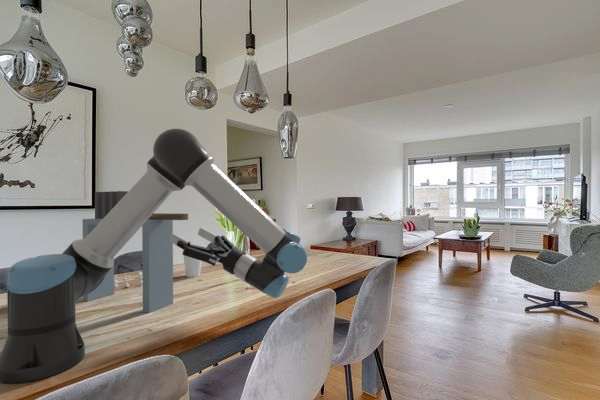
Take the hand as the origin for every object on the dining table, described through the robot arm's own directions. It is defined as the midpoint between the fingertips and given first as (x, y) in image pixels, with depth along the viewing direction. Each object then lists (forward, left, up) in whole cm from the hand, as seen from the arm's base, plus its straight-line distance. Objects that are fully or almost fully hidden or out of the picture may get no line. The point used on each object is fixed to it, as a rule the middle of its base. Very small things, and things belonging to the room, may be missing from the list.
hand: (186, 233), depth 102 cm
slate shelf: (0, +29, -26) cm, 38 cm away
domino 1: (0, +42, +4) cm, 42 cm away
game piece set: (+21, +52, -26) cm, 62 cm away
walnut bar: (0, +13, +4) cm, 14 cm away
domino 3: (0, +34, +4) cm, 34 cm away
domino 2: (0, +38, +4) cm, 38 cm away
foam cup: (+41, +36, -26) cm, 60 cm away
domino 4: (0, +30, +4) cm, 30 cm away
